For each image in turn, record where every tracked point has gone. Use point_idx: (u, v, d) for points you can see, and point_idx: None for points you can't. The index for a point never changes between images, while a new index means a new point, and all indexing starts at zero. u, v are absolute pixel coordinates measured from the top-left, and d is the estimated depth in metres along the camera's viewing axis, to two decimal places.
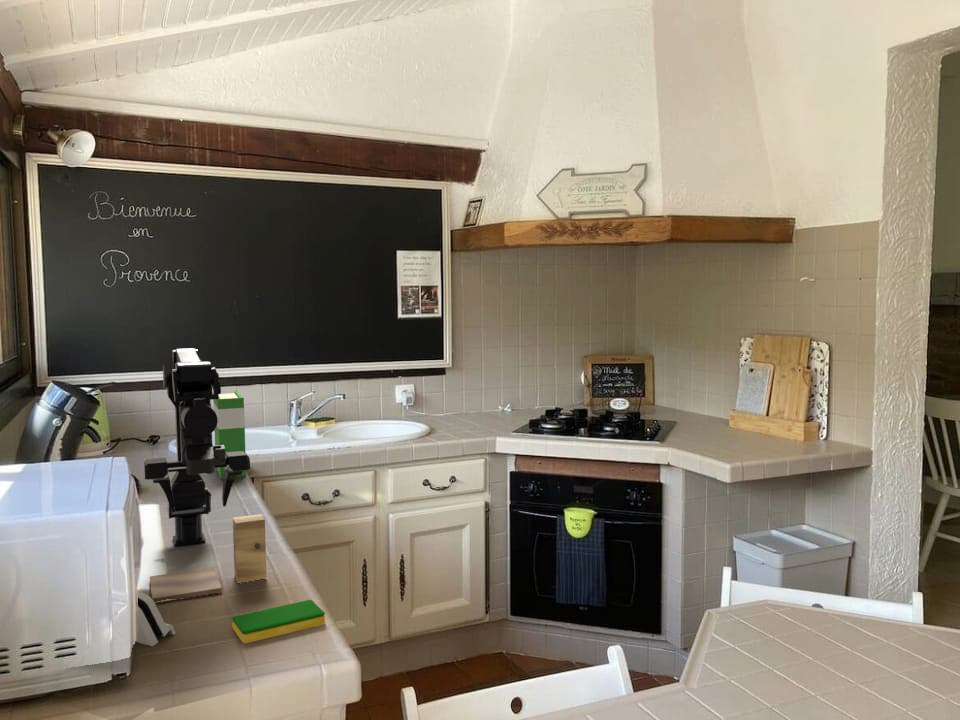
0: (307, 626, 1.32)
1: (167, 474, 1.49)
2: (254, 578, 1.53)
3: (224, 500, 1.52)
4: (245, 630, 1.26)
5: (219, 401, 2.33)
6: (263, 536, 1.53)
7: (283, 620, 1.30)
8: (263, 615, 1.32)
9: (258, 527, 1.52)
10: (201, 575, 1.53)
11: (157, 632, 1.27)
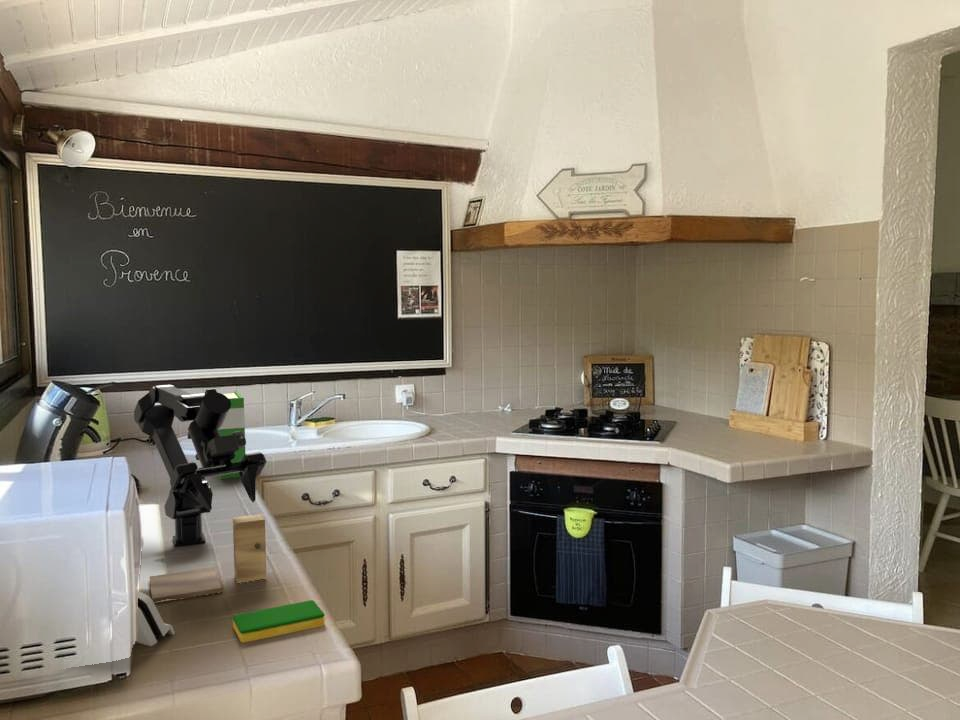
0: (306, 627, 1.31)
1: None
2: (254, 578, 1.53)
3: (253, 493, 1.62)
4: (243, 629, 1.27)
5: None
6: (263, 536, 1.53)
7: (281, 620, 1.30)
8: (263, 615, 1.32)
9: (258, 527, 1.52)
10: (201, 575, 1.53)
11: (156, 632, 1.27)
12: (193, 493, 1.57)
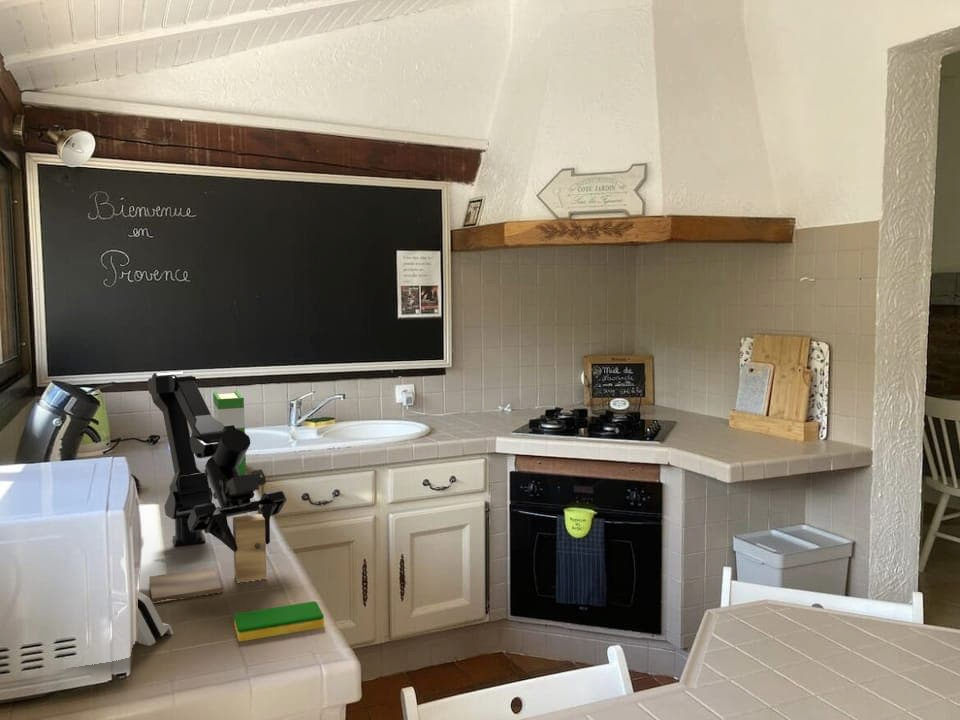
0: (305, 628, 1.31)
1: None
2: (254, 578, 1.53)
3: (267, 535, 1.55)
4: (240, 628, 1.27)
5: (219, 401, 2.33)
6: (263, 536, 1.53)
7: (280, 620, 1.30)
8: (263, 614, 1.32)
9: (258, 527, 1.52)
10: (201, 575, 1.53)
11: (155, 632, 1.27)
12: (218, 533, 1.52)
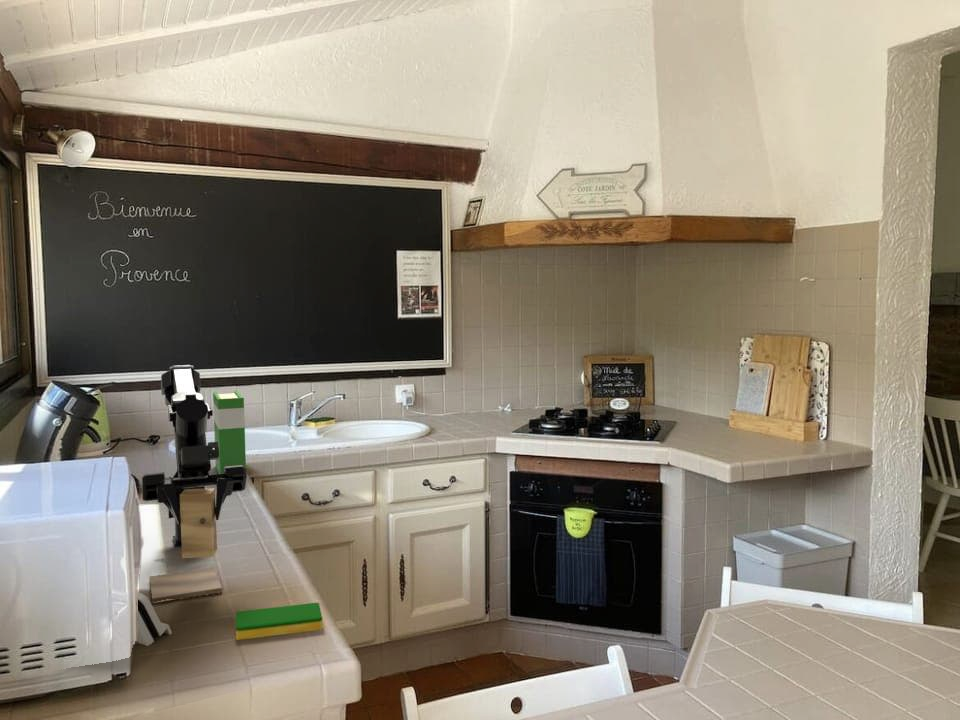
0: (303, 629, 1.30)
1: None
2: (199, 554, 1.47)
3: (217, 511, 1.48)
4: (238, 627, 1.28)
5: (219, 401, 2.33)
6: (209, 511, 1.46)
7: (278, 620, 1.30)
8: (264, 613, 1.33)
9: (204, 501, 1.46)
10: (201, 575, 1.53)
11: (153, 632, 1.27)
12: (168, 504, 1.48)
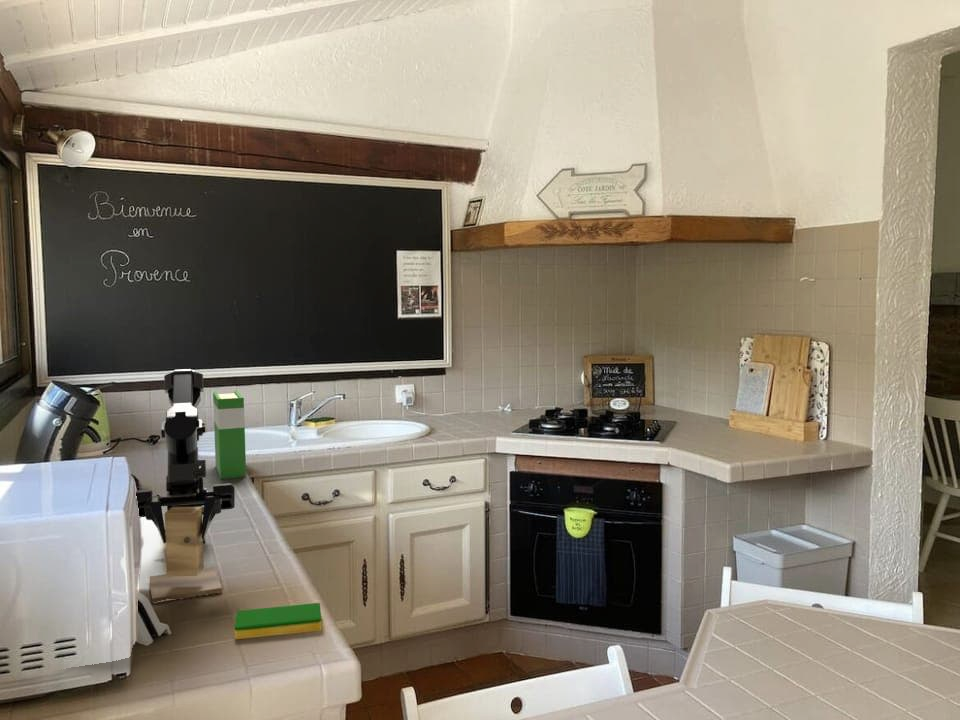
0: (302, 630, 1.30)
1: None
2: (184, 573, 1.46)
3: (202, 530, 1.47)
4: (237, 626, 1.28)
5: (219, 401, 2.33)
6: (193, 530, 1.45)
7: (277, 621, 1.30)
8: (264, 613, 1.33)
9: (188, 520, 1.45)
10: (201, 575, 1.53)
11: (152, 632, 1.27)
12: (156, 522, 1.48)
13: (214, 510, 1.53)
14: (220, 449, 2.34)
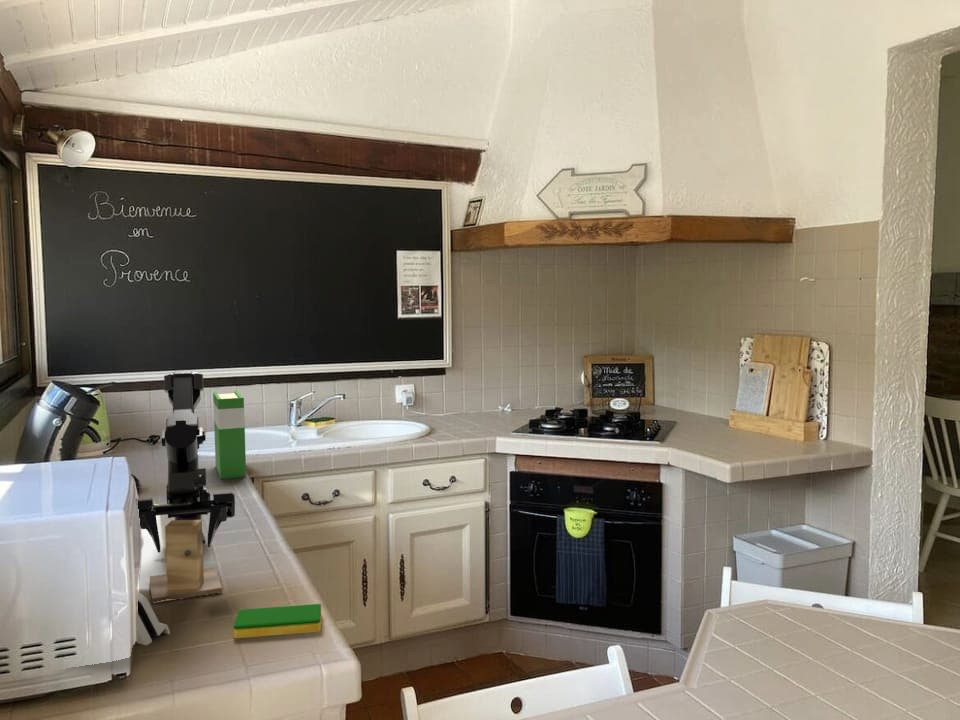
0: (300, 631, 1.30)
1: None
2: (185, 586, 1.46)
3: (208, 537, 1.48)
4: (236, 625, 1.28)
5: (219, 401, 2.33)
6: (194, 543, 1.45)
7: (276, 621, 1.30)
8: (265, 613, 1.33)
9: (189, 533, 1.45)
10: None
11: (151, 631, 1.27)
12: (150, 531, 1.48)
13: (220, 518, 1.53)
14: (220, 449, 2.34)
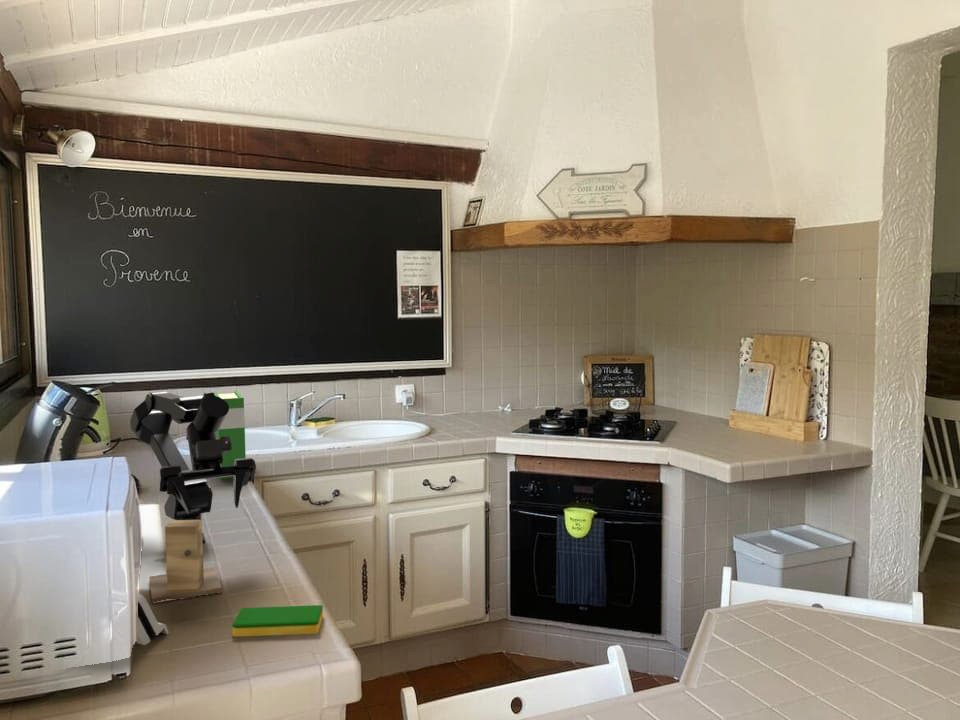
0: (298, 632, 1.29)
1: None
2: (185, 586, 1.46)
3: (236, 499, 1.61)
4: (235, 624, 1.29)
5: None
6: (194, 543, 1.45)
7: (274, 621, 1.30)
8: (265, 612, 1.33)
9: (189, 533, 1.45)
10: None
11: (150, 631, 1.27)
12: (177, 495, 1.59)
13: None
14: None
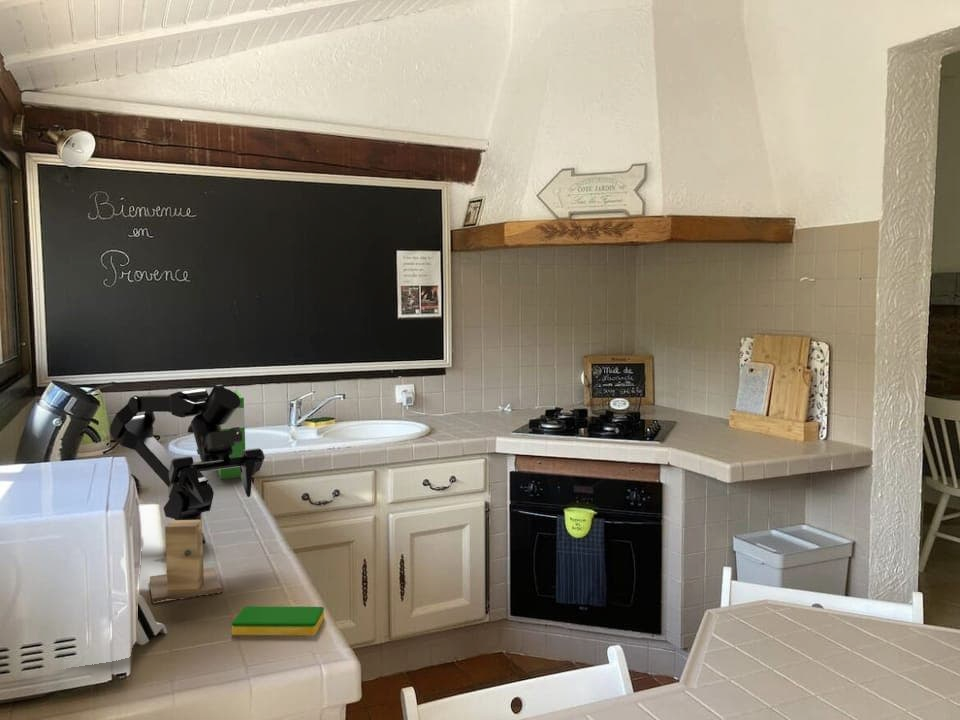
0: (295, 633, 1.29)
1: None
2: (185, 586, 1.46)
3: (248, 488, 1.64)
4: (234, 622, 1.29)
5: None
6: (194, 543, 1.45)
7: (273, 621, 1.30)
8: (266, 612, 1.33)
9: (189, 533, 1.45)
10: None
11: (148, 631, 1.27)
12: (189, 486, 1.61)
13: None
14: None
